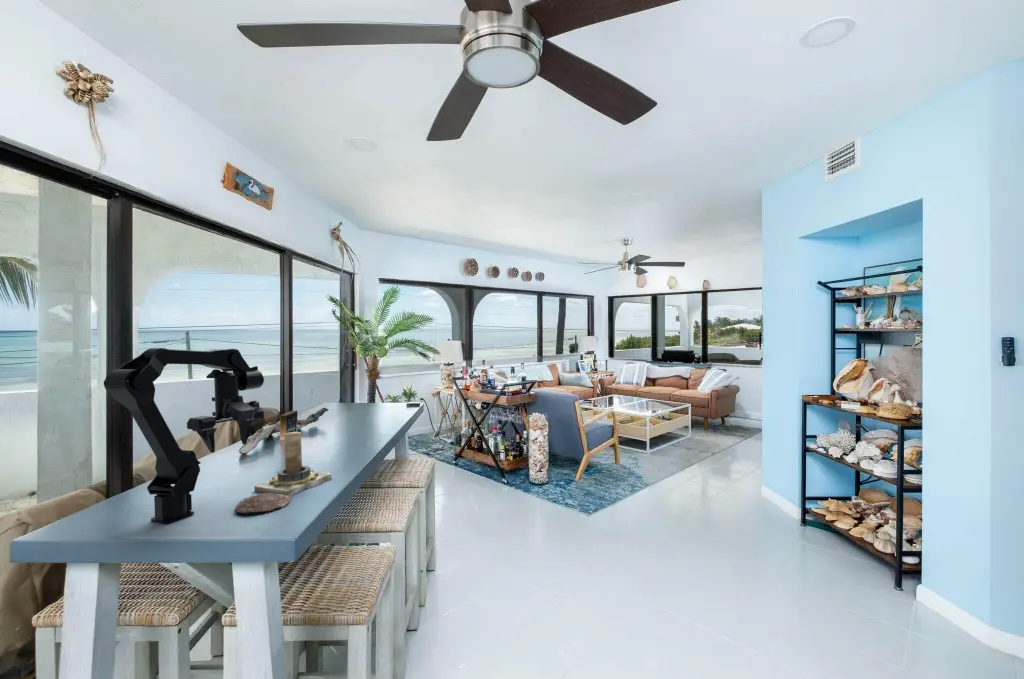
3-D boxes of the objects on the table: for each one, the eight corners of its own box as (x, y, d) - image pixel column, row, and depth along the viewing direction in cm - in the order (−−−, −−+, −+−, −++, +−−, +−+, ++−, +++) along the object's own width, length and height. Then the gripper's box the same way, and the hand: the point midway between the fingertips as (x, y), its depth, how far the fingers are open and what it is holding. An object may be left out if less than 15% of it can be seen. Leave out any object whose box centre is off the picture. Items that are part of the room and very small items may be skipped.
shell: (284, 513, 111) (284, 499, 111) (227, 520, 108) (226, 505, 108) (294, 497, 122) (293, 484, 122) (242, 503, 119) (242, 489, 119)
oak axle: (293, 480, 129) (291, 435, 128) (282, 478, 130) (281, 434, 130) (305, 475, 133) (304, 432, 133) (294, 473, 134) (293, 431, 134)
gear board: (287, 496, 122) (287, 481, 122) (254, 491, 127) (254, 476, 127) (331, 478, 137) (331, 464, 136) (300, 474, 142) (300, 460, 141)
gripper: (212, 399, 113) (214, 460, 113) (276, 389, 130) (278, 442, 130) (184, 397, 117) (186, 456, 117) (250, 388, 134) (251, 439, 134)
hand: (228, 448), depth 125 cm, fingers open, 9 cm apart
